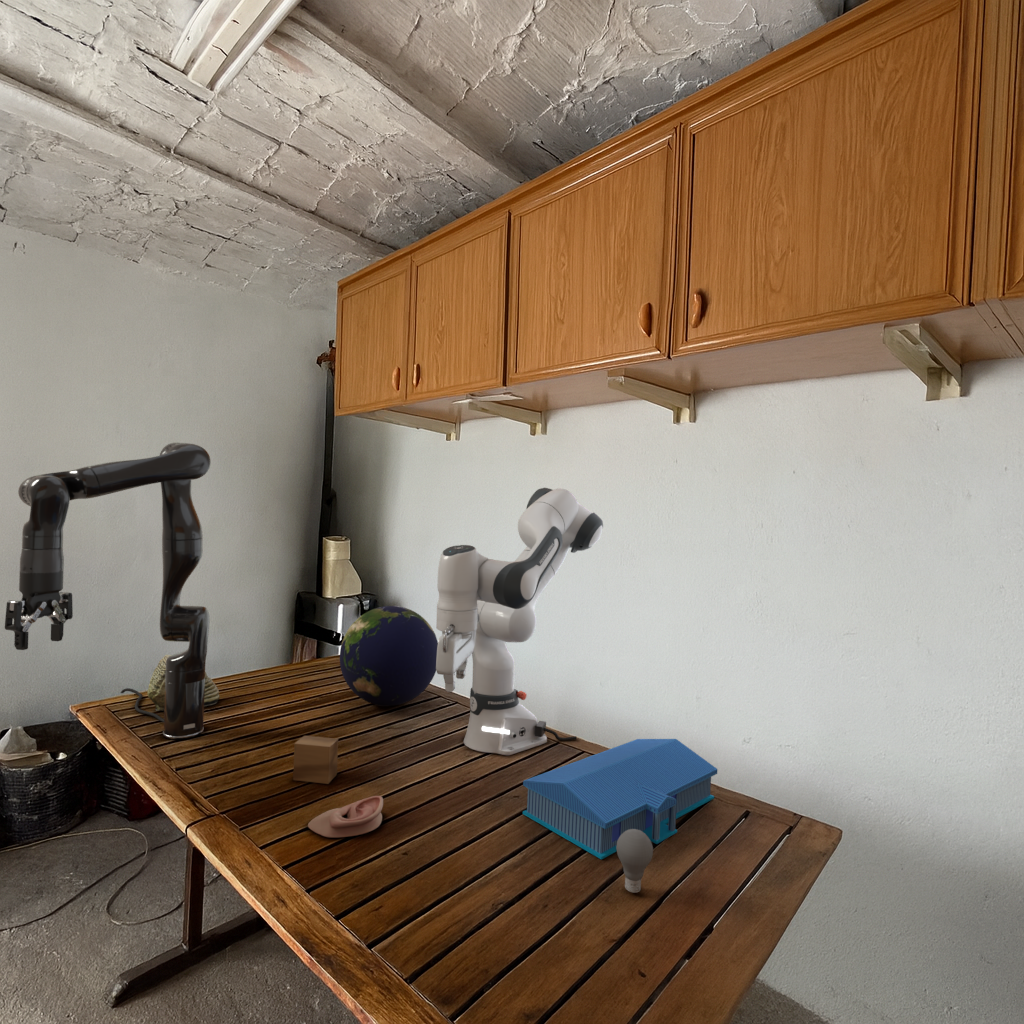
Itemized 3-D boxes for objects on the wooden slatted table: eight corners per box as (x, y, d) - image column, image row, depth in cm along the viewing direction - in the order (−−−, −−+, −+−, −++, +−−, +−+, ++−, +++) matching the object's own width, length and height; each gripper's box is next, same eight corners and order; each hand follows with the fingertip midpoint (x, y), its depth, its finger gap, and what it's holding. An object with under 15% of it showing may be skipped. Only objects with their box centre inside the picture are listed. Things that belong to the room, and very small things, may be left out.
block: (328, 784, 140) (329, 746, 140) (293, 780, 141) (294, 743, 141) (337, 774, 145) (338, 738, 144) (302, 771, 146) (304, 735, 145)
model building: (615, 867, 112) (618, 811, 112) (520, 812, 130) (523, 764, 130) (727, 803, 138) (730, 758, 138) (636, 765, 157) (638, 725, 156)
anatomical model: (300, 812, 119) (329, 785, 130) (299, 833, 119) (328, 804, 130) (365, 822, 116) (390, 794, 127) (365, 843, 116) (389, 814, 127)
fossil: (144, 707, 182) (145, 655, 182) (212, 696, 194) (213, 647, 194) (151, 716, 175) (153, 662, 175) (221, 703, 188) (223, 653, 188)
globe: (316, 709, 186) (320, 608, 186) (375, 684, 214) (378, 595, 214) (403, 727, 175) (408, 619, 175) (453, 698, 203) (457, 604, 202)
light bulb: (610, 879, 108) (613, 822, 108) (644, 879, 109) (647, 822, 109) (619, 902, 102) (622, 840, 102) (655, 901, 103) (658, 840, 103)
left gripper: (28, 574, 127) (25, 654, 128) (84, 567, 141) (82, 639, 142) (-5, 571, 128) (-8, 651, 129) (54, 565, 142) (52, 636, 143)
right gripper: (459, 631, 126) (458, 700, 127) (480, 613, 146) (479, 672, 147) (429, 630, 127) (427, 698, 128) (454, 611, 147) (452, 670, 148)
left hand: (39, 645), depth 135 cm, fingers open, 8 cm apart
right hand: (455, 684), depth 137 cm, fingers open, 8 cm apart
